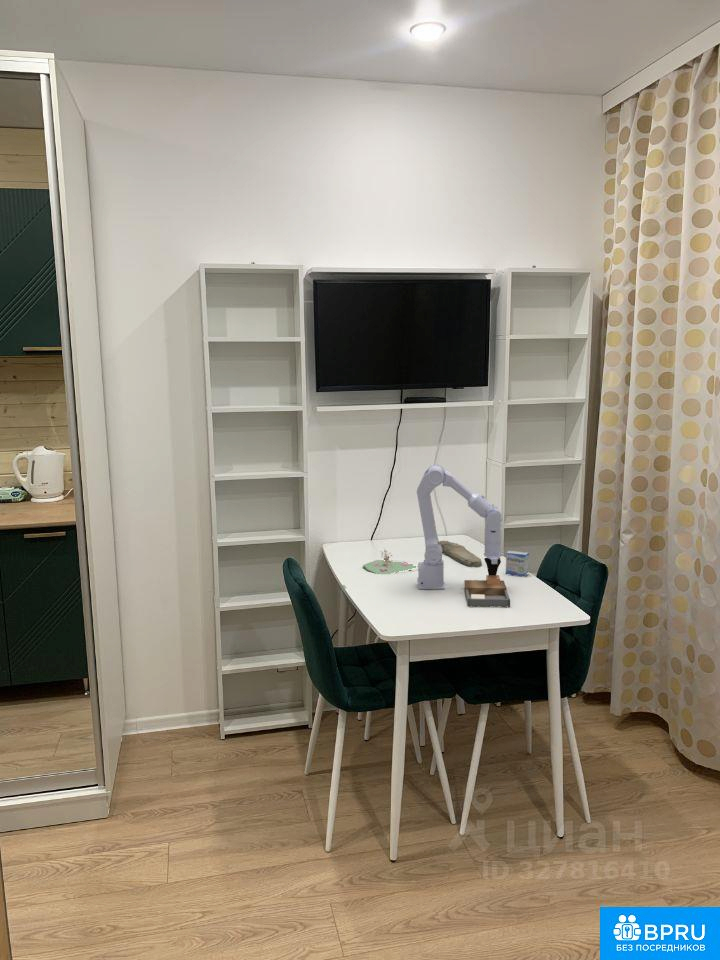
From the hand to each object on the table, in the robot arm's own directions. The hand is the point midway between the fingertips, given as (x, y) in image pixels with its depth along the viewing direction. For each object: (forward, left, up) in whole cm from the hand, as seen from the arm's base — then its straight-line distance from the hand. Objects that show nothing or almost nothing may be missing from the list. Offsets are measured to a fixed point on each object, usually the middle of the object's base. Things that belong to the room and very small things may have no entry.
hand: (492, 578), depth 268 cm
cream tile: (-6, -17, -1) cm, 18 cm away
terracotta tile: (0, -3, 0) cm, 4 cm away
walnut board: (-3, -5, -3) cm, 7 cm away
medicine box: (+11, +17, -4) cm, 21 cm away
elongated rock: (-10, +42, -4) cm, 44 cm away
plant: (-36, +26, -4) cm, 45 cm away
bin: (-3, -15, -3) cm, 16 cm away
